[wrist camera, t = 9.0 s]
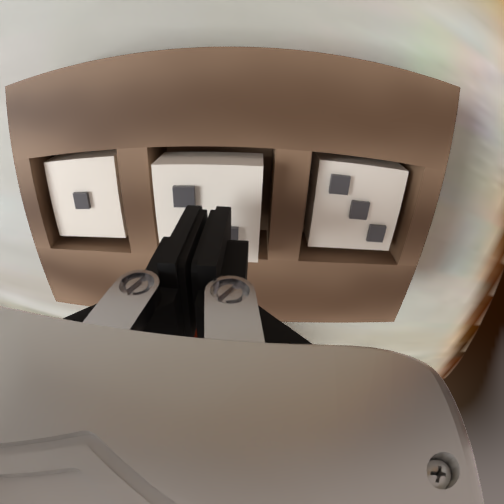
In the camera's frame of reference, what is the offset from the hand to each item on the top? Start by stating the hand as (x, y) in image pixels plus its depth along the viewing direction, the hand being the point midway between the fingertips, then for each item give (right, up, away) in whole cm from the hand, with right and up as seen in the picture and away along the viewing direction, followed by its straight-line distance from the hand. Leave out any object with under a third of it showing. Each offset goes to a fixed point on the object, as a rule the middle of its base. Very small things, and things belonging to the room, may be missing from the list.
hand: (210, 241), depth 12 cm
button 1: (-7, +3, +4) cm, 9 cm away
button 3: (+7, +3, +4) cm, 8 cm away
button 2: (0, +2, +3) cm, 3 cm away
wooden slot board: (0, +4, +6) cm, 7 cm away
